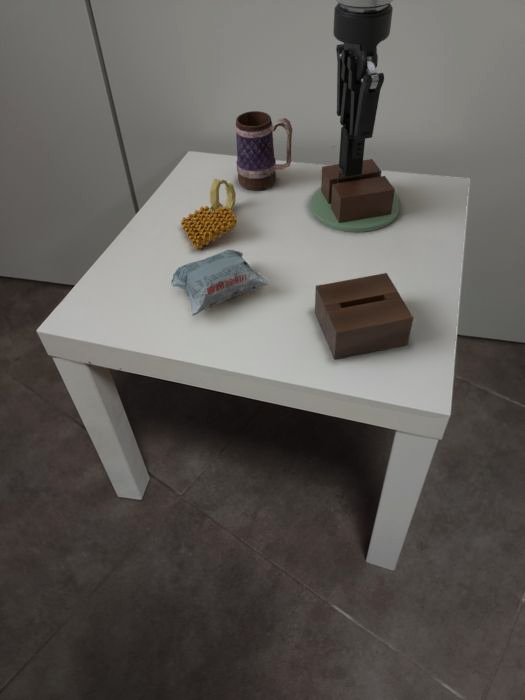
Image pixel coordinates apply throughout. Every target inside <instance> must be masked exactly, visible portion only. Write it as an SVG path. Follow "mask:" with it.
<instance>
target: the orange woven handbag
mask: <svg viewBox="0 0 525 700" xmlns="http://www.w3.org/2000/svg"><path fill="white" fill-rule="evenodd" d="M222 184H224V187H225V188H224V189H225V193H226V196H227V198H226V202H225V205H223V204H222V203H221V202H220V188H221V185H222ZM236 193H237V192H236V189H235V186H234V184H233V182H228V181H227V180H225V179H217V178H214V179H213V180H212V183H211V186H210V190H209V203H210V205H211V206H210V207H209V206H208V205H205V206H201V207H199V209H198V210H197V209H196V210H195V211H194V213H189V214H188V215H187V217H184V216H183V217H182V219H181V221H180V225H181V226H182V229H184V233H186V236H187V238H188V239H189V241H190V242H191V244H192V245H193V248H194V249H196V250H198V249H200V250H201V249H202V248H203V246H205V245H206V246H208V245H209V244H210V242H211V241H212V242H215V241H216V238H219V239H220V238H221V237H222V236H223V234H224V235H226V234H228V233H229V232H228V231H229V230H230V232H233V230H234V229H235V227H237V223H238V220H237V216H236V214H234V211H233V210H234V207H235V205H236V198H237V197H236V196H237V195H236Z"/></svg>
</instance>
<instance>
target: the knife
mask: <svg viewBox="0 0 525 700" xmlns="http://www.w3.org/2000/svg"><path fill="white" fill-rule="evenodd" d="M342 127H343V138H342V153H341V169H342V171H338V176H337V183H343V182H349V181H356V180H361V174H359V175H353V176H347V177H345V175H344V167H345V154H346V138H345V134H347V133H350V125H346V126H343V125H342Z"/></svg>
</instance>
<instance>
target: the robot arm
mask: <svg viewBox="0 0 525 700" xmlns="http://www.w3.org/2000/svg"><path fill="white" fill-rule="evenodd" d="M335 1H336V2H337V4H336V6H335V7H334V10H333V33H332V34H333V37H334V38H335V39H336V40H337V41H339V42H341V43H340V44H337V45H336V47H335V52H336V60H337V61H336V62H337V68H336V69H337V70H336V72H337V73H336V115H337V117H339V124H340V125H341V127H340V141H339V156H338V157H339V158H338V164H339V167H340V168H341V153H342V138H343V126H346V125H350V133H347V134H345V138H346V154H345V167H344V175H345V177H347V176H353V175H359V174H362V166H363V160H364V155H365V146H366V145H365V144H366V140H367V139H372V138H373V135H374V129H375V123H376V117H377V113H378V106H379V99H380V95H381V90H382V87H383V85H384V81H385V74H384V72H377V71H378V70H377V67H378V61H379V55H378V48H377V47H378V45H379V44H380V43H382V42H383V41H385V40H386V39H388V38H389V36H390V34H391V28H392V20H393V19H392V18H393V11H394V7H393V6H392V4H391V3H392V2H394V0H335Z"/></svg>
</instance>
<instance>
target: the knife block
mask: <svg viewBox="0 0 525 700" xmlns="http://www.w3.org/2000/svg"><path fill="white" fill-rule="evenodd" d="M314 290H315V294H314V315H315V317H316V320H317V322H318V324H319V327H320V329H321V332H322V333H323V337H324V339H325V341H326V344H327V345H328V348H329V351H330V353H331V355H332V357H333V359H334V360H337V359H343V358H348V357H349V358H350V357H353V356H359V355H364V354H368V353H374V352H378V351H384V350H389V349H393V348H394V349H395V348H397V347H403V346H407V345H408V343H409V340H410V334H411V330H412V326H413V322H414V316H413V314H412V313H411V311H410V310H409V308H408V306H407V304H406V303H405V301H404V299H403V298H402V296H401V295H400V293H399V291H398V289H397V288H396V286H395V284H394V283H393V281H392V279H391V278H390V276H389V274H388V273H387V272H384V273H378V274H373V275H368V276H361V277H357V278H351V279H346V280H339V281H335V282H330V283H324V284H317V285H315V289H314Z"/></svg>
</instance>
